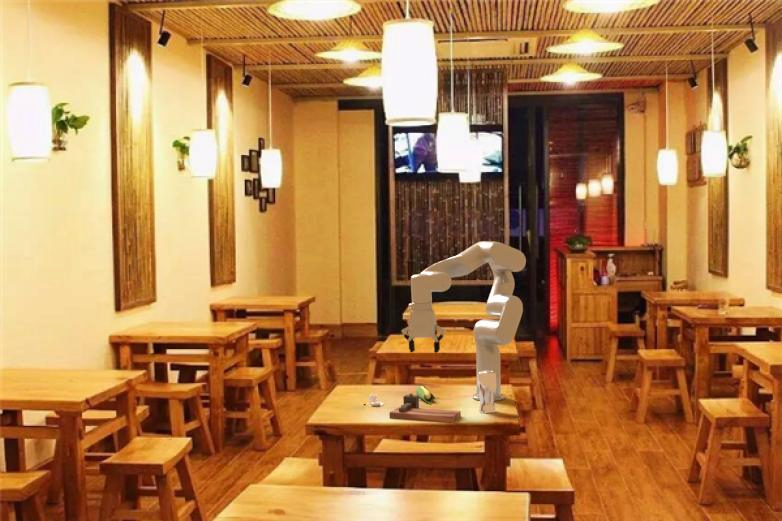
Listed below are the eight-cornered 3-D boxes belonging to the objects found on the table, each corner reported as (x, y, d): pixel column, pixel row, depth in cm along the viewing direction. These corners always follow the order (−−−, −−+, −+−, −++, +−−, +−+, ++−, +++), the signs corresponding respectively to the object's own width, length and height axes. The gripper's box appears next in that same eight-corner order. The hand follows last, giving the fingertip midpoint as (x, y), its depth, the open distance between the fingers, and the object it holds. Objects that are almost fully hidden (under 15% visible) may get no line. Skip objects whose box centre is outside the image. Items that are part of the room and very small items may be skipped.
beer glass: (478, 413, 360) (477, 373, 359) (477, 409, 367) (477, 370, 366) (497, 413, 360) (496, 373, 359) (496, 409, 366) (495, 370, 366)
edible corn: (426, 395, 398) (426, 384, 398) (437, 404, 378) (437, 393, 378) (414, 395, 397) (413, 384, 397) (424, 405, 377) (423, 393, 377)
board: (399, 412, 364) (399, 407, 364) (460, 416, 355) (460, 411, 355) (389, 417, 355) (389, 412, 355) (452, 422, 346) (452, 416, 346)
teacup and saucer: (380, 408, 375) (380, 397, 374) (360, 407, 376) (360, 397, 376) (385, 403, 383) (385, 393, 383) (365, 402, 385) (365, 392, 384)
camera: (406, 410, 367) (406, 392, 366) (419, 411, 365) (418, 392, 365) (395, 418, 356) (394, 399, 355) (408, 419, 354) (407, 400, 353)
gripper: (397, 308, 365) (399, 353, 366) (440, 308, 358) (443, 354, 360) (404, 305, 372) (406, 349, 373) (447, 305, 365) (449, 350, 367)
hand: (424, 351), depth 367 cm, fingers open, 9 cm apart
